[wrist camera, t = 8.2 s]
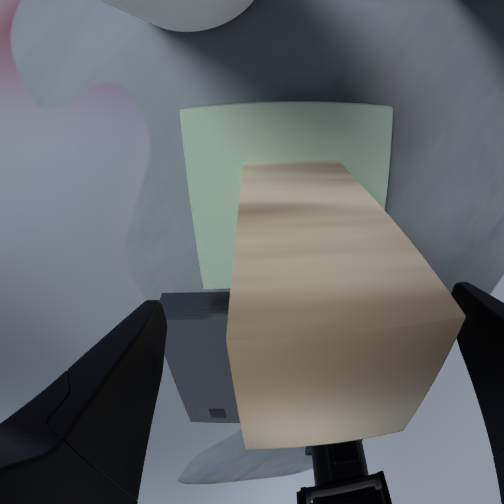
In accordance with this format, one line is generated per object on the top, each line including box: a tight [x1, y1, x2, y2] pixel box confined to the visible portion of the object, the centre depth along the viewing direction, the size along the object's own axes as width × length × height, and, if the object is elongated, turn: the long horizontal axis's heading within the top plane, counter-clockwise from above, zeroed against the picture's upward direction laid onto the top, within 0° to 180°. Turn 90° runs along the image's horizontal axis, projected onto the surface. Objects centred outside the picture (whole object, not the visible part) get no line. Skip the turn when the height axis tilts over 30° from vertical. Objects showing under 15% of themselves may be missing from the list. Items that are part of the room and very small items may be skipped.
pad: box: [180, 101, 393, 289], centre depth 16 cm, size 10×10×1 cm
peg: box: [226, 160, 466, 449], centre depth 11 cm, size 4×4×11 cm
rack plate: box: [160, 292, 240, 423], centre depth 21 cm, size 12×16×3 cm
